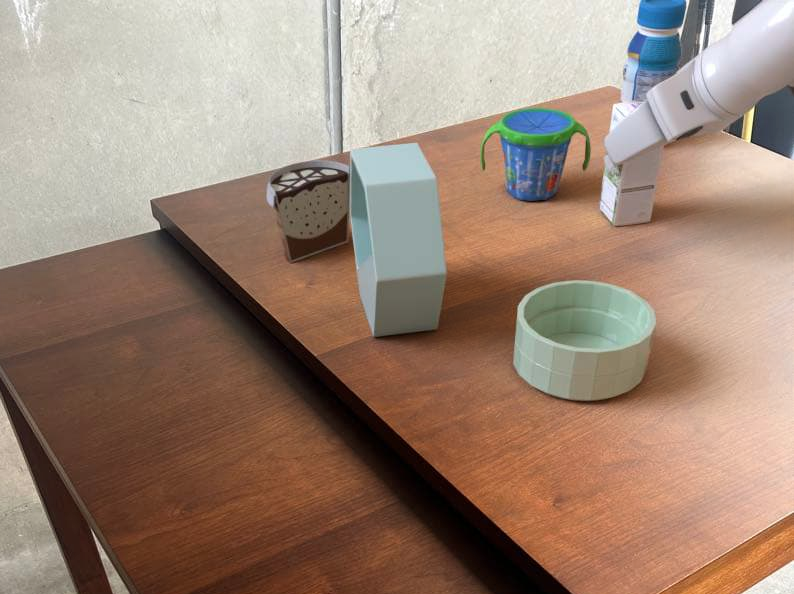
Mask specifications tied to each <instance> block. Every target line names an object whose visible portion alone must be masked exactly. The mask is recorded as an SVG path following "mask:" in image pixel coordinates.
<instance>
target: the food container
mask: <svg viewBox="0 0 794 594" xmlns="http://www.w3.org/2000/svg"><path fill="white" fill-rule="evenodd" d="M266 201H267V203H268V204H269V205H270V206H271V207H272V208H273V211H274V215H275V220H276V224H277V228H278V233H279V237H280V242H281V246H282V251H283V255H284V258H285V260H286V261H287V262H288V263H289V264H291V263H295V262H297V261H300V260H303V259H307V258H308V257H311V256H314V255H317V254H320V253H322V252H325V251H328V250H331V249H333V248H336V247H339V246H342V245H345V244H347V243H349V229H350V165H347V164H345V163H341V162H337V161H332V160H307V161H299V162H294V163H290V164H287V165H285V166H283V167H280V168H279V169H277V170H275V171H274V172H273V173H272V174H271V175H270V176H269V179H268V183H267V187H266Z"/></svg>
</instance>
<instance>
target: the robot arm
mask: <svg viewBox="0 0 794 594" xmlns="http://www.w3.org/2000/svg"><path fill="white" fill-rule="evenodd" d="M731 25H732V28H731V30H730V32H729V33H727V34H726V35H725V36H724V37H722V38H720V39H719V40H717V41H714V42H713V43H711V44H709V45H708V46H707V47H705V48H704V49H703V50H702V51H701V52H699V54H697V55H696V56H695V57H693V58H692V59H691V60H689V61H688V62H687V63H685V64H684V65H683V66H682V67H680V70H678V71H677V72H676V73H675V74H674V75H672V76H670V77H669V78H667V79H665V80H663V81H662V82H660V83H659V84H657V85H656V86H654V87H653V88H652V89H650V90H649V91H648V92H647V94H646V97H647V100H646V101H644V102H643V103H642V104H640V105H639V106H638V107H636V108H635V109H634V110H633V111H632V112H631V113H630V114H629V115H627V116H626V117H625V118H624V119H623V120H622V121H621V122H620V123H619V124H618V125H617V126H616V127H615V128H614V129H613V130H612V131H611V132H610V131H609V132H610V133H607V135H606V136H605V137H604V140H603V147H604V149H605V152H606V153H607V155H606V154H605V156H603V162H604V165H605V164H606V166H607V168H608V169H612V168H614V167H616V166H618V165H621V164H623V163H625V162H627V161H630V160H632V159H634V158H637V157H639V156H641V155H643V154H646V153H648V152H650V151H653V150H655V149H657V148H660V147H662V146H664V147H665V146H666V145H668V144H671V143H674V142H676V141H677V142H678V141H681V140H683V139H687V138H691V137H700V136H704V137H705V136H706V137H712V136H715V135H717V134H720V133H721V132H722V131H723V130H725V129H726V128H727V127H729V126H730V125H732V124H733V123H735V122H736V121H738V120H739V119H740V118H742V117H743V116H745V115H746V114H747V113H749V112H750V111H752V110H753V109H754V108H755V107H756V106H757V104H758V103H759V102H760V101H761V100H762V99H763V98H764V97H767V96H769V95H772V94H775V93H777V92H779V91H781V90H782V89H783V88H785V87H787V88H788V90H789V92H790V93H791V95H792V96H793V97H794V0H735V3H734V7H733V11H732V15H731Z"/></svg>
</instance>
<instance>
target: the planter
mask: <svg viewBox="0 0 794 594" xmlns="http://www.w3.org/2000/svg"><path fill="white" fill-rule="evenodd" d="M349 160H350V161H349V166H350V198H349V222H350V228H351V235H352V244H353V251H354V260H355V269H356V276H357V285H358V293H359V297H360V299H361V303H362V306H363V309H364V313H365V316H366V319H367V322H368V326H369V328H370V332H371V335H372V337H373V338H378V337H385V336H393V335H402V334H403V335H404V334H411V333H417V332H418V333H419V332H428V331H436V330H438V329H439V323H440V317H441V312H442V311H441V310H442V305H443V298H444V292H445V287H446V281H447V275H448V270H447V262H446V261H447V260H446V250H445V241H444V232H443V223H442V222H443V221H442V214H441V204H440V203H441V201H440V194H439V184H438V178H437V176H436V174H435V172H434V170H433V168H432V167H431V165H430V163H429V161H428V159H427V158H426V156H425V154H424V152H423V150H422V148H421V147H420V145H419V143H418V142H410V143H399V144H389V145H388V144H387V145H377V146H368V147H358V148H350V150H349Z"/></svg>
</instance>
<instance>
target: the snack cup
mask: <svg viewBox="0 0 794 594" xmlns="http://www.w3.org/2000/svg"><path fill="white" fill-rule="evenodd" d="M495 133H498V134H499V137H500V143H501V149H502V152H503V160H504V161H503V162H504V163H503V165H504V175H505V187H506V191H507V192H508V193H509V194H510V196H511V197H514V198H515V199H518V200H520V201H527V202H536V201H541V200H542V201H547V200H548V199H549V198H552V197H553V196H554V195H555V194H556V193H557V192H558V190H559V187H560V183H561V179H562V176H563V171H564V169H565V164H566V160H567V156H568V151H569V146H570V144H571V142H572V139H573V138H572V137H573V136H574V135H575V134H577V133H578V134H581V135H582V136H584V137H585V149H584V161H583V163H582V166H581V167H582V171H583V172H585V171H587V169H588V167H589V164H590V160H591V154H592V153H591V152H592V147H591V146H592V145H591V140H590V136H589V134H588V131H587V129H586V128H585V127H584V126H583V125H582V124H581V123H579V122H578V121H576V119H575V118H574V117H573V116H572V115H571V114H570V113H568V112H565V111H562V110H558V109H555V108H548V107H530V108H529V107H528V108H521V109H517V110H512V111H510V112H508V113H506V114H504V115H503V116H502V117H501V118H500V120H499V121H498V122H496V123H494V124H493V125H491V126H490V127H489V128H488V130H487V131H485V134H484V136H483V138H482V141H481V145H480V166H481V169H482V171H483V172H484V171H485V170H486V160H485V145H486V143H487V141H488V140H489V138H490V137H492V135H493V134H495Z"/></svg>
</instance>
